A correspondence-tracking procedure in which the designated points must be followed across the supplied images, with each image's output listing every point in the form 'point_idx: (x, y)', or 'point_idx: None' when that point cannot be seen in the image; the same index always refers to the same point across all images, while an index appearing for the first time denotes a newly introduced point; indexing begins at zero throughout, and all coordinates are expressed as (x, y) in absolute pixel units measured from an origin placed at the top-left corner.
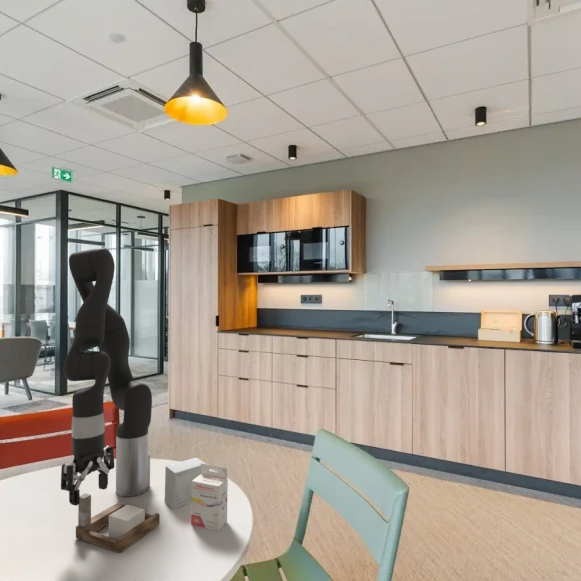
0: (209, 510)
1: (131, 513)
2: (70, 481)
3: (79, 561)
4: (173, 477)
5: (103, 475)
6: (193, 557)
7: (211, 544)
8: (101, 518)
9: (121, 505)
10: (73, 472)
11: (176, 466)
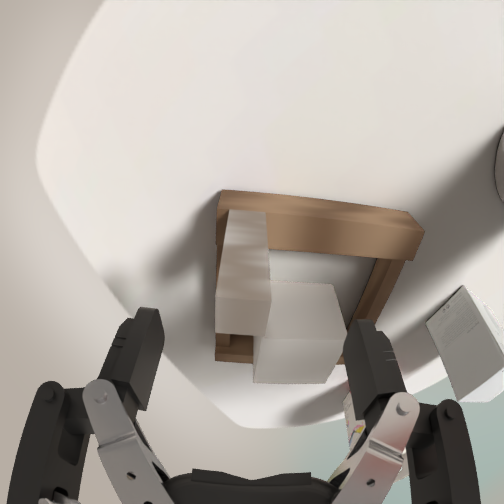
0: (352, 424)
1: (296, 373)
2: (69, 460)
3: (151, 279)
4: (458, 385)
5: (359, 415)
6: (263, 406)
7: (303, 409)
8: (308, 249)
9: (403, 257)
10: (114, 485)
11: (492, 384)
